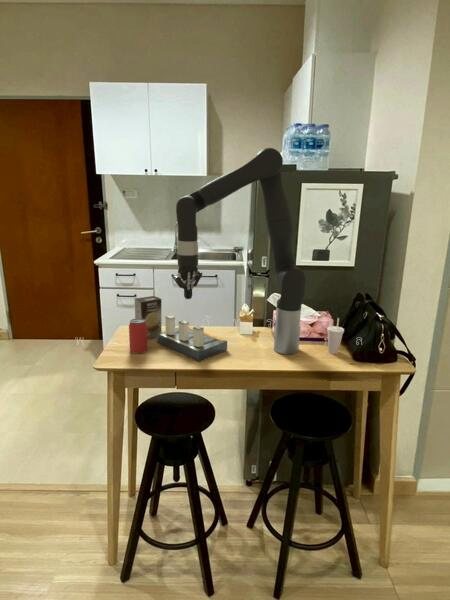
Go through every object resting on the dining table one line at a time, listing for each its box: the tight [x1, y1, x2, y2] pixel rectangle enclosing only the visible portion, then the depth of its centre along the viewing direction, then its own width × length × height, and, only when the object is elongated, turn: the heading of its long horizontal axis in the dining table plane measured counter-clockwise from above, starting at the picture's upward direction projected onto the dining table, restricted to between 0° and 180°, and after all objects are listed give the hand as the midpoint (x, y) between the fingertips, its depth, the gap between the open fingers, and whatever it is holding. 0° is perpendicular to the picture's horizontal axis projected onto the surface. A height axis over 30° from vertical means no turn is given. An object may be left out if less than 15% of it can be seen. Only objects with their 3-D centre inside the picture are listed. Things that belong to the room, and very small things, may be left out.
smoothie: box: [326, 317, 345, 355], centre depth 156 cm, size 6×6×14 cm
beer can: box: [128, 318, 149, 354], centre depth 152 cm, size 7×7×12 cm
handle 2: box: [192, 325, 205, 347], centre depth 149 cm, size 2×3×7 cm
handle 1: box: [164, 315, 176, 335], centre depth 159 cm, size 2×3×7 cm
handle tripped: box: [178, 319, 190, 341], centre depth 154 cm, size 2×3×7 cm
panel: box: [156, 326, 228, 363], centre depth 158 cm, size 15×24×4 cm, turn 47°
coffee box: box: [134, 295, 163, 340], centre depth 167 cm, size 9×6×16 cm
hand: (188, 298), depth 152 cm, fingers closed
